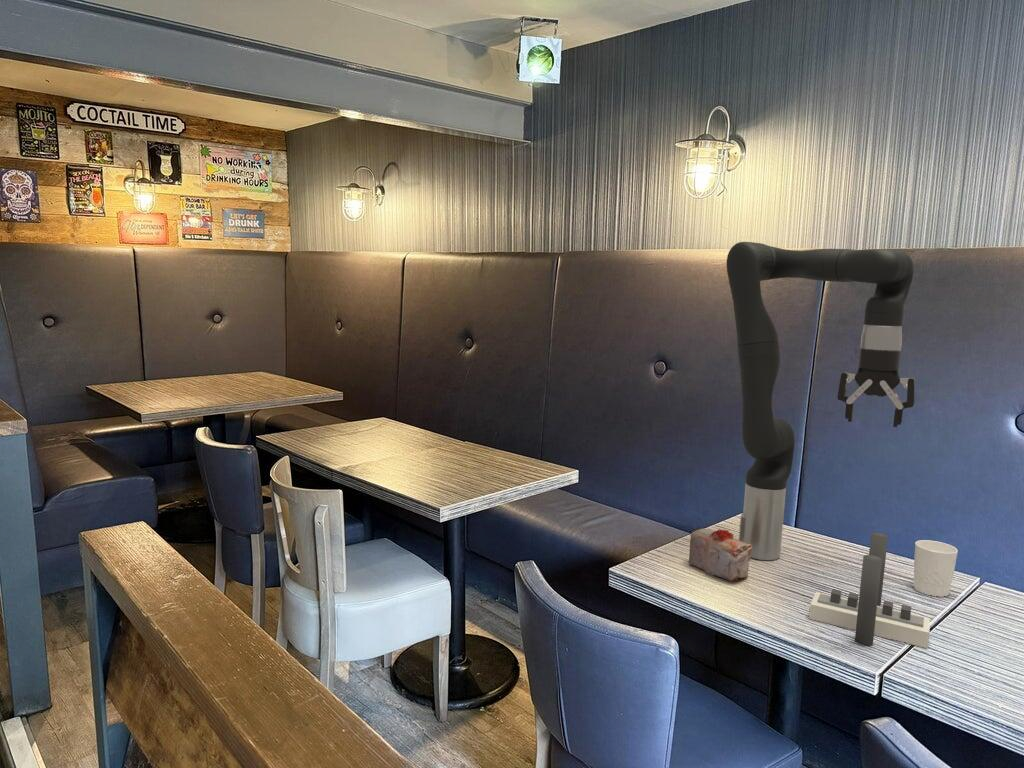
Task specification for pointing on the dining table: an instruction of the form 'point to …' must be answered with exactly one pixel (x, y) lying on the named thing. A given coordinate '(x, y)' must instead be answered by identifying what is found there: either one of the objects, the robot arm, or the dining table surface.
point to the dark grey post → (868, 600)
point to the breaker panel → (886, 623)
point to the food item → (719, 554)
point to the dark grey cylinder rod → (879, 549)
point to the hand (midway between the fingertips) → (872, 424)
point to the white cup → (934, 567)
